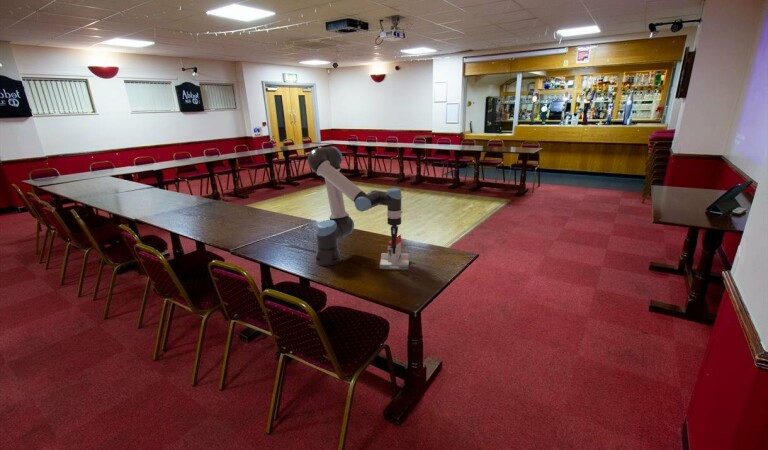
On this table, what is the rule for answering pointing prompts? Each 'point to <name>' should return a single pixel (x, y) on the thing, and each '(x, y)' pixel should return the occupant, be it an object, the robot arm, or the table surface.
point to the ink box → (398, 250)
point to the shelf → (400, 264)
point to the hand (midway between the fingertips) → (394, 255)
